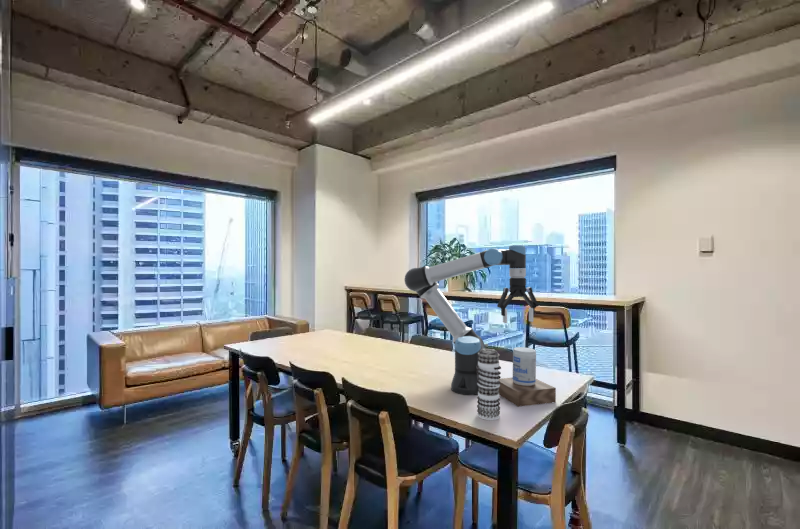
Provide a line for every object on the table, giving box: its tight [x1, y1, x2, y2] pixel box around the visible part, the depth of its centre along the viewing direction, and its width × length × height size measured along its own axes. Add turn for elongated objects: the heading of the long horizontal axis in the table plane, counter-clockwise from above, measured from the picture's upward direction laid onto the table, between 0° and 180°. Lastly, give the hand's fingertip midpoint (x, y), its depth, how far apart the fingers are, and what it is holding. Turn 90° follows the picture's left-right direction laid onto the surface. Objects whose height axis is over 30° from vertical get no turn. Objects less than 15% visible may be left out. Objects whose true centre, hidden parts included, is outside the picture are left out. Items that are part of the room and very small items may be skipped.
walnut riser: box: [498, 377, 557, 408], centre depth 166 cm, size 18×18×6 cm
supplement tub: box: [512, 346, 537, 386], centre depth 166 cm, size 10×10×15 cm
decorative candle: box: [476, 348, 502, 421], centre depth 145 cm, size 9×9×25 cm
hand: (518, 322), depth 182 cm, fingers open, 13 cm apart
